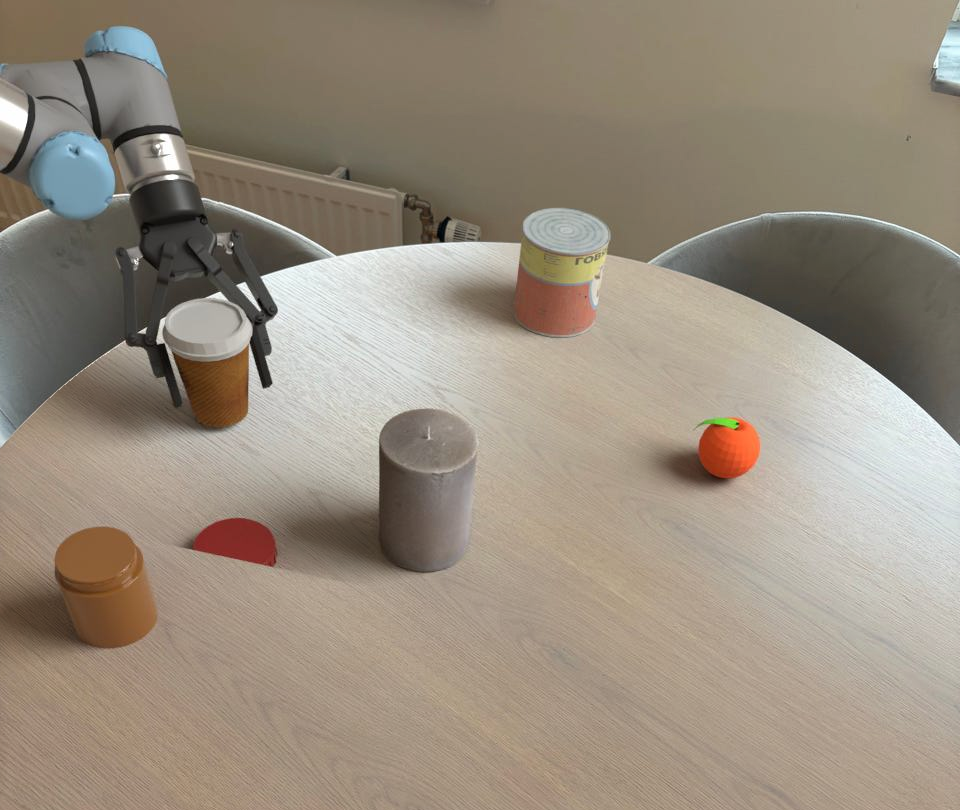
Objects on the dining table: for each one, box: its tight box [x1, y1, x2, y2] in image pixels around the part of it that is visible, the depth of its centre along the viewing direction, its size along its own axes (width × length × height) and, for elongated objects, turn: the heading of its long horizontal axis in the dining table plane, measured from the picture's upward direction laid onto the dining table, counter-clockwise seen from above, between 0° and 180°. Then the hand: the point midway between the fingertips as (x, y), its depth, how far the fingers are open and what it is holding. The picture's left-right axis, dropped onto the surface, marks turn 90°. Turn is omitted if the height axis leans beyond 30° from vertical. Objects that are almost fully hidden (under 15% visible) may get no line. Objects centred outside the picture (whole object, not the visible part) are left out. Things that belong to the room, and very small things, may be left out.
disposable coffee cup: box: [161, 297, 252, 428], centre depth 110 cm, size 10×10×12 cm
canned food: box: [512, 207, 611, 339], centre depth 129 cm, size 11×11×12 cm
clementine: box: [692, 416, 761, 479], centre depth 113 cm, size 8×7×7 cm
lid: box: [192, 517, 278, 568], centre depth 101 cm, size 8×8×2 cm
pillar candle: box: [378, 408, 479, 573], centre depth 99 cm, size 10×10×15 cm
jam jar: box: [53, 526, 159, 649], centre depth 90 cm, size 8×8×10 cm
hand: (223, 395), depth 110 cm, fingers closed on disposable coffee cup, 9 cm apart
